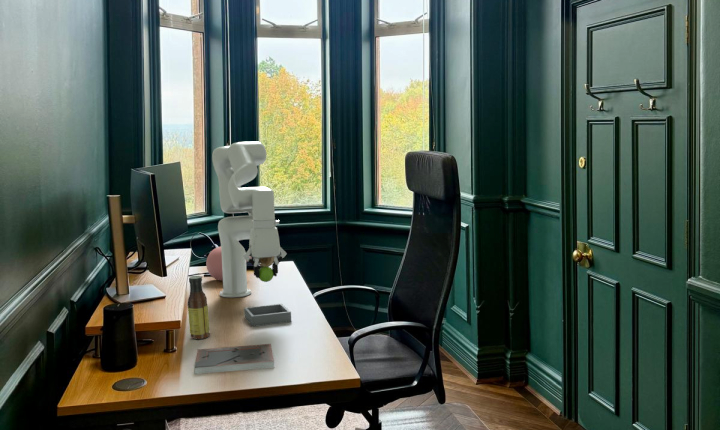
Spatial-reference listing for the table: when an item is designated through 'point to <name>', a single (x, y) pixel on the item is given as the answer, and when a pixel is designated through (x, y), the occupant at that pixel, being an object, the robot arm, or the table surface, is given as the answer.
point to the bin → (267, 314)
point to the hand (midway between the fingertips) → (266, 275)
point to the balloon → (216, 263)
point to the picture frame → (234, 358)
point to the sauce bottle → (198, 309)
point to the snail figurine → (266, 269)
